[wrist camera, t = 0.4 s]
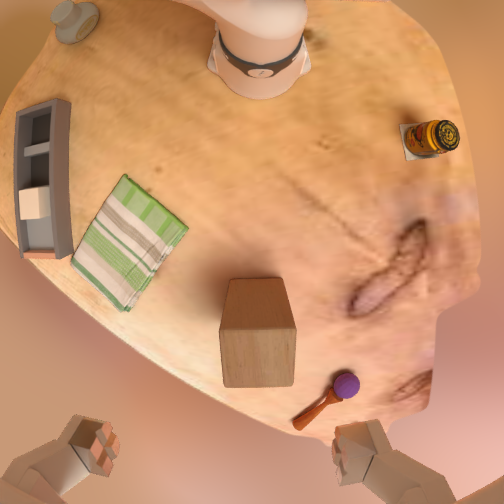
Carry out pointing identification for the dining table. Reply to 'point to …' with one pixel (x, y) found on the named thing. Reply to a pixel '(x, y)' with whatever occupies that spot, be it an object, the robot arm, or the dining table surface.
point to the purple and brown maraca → (331, 398)
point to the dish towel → (126, 244)
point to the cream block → (34, 203)
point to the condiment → (428, 139)
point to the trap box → (44, 178)
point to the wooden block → (257, 335)
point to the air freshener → (74, 20)
